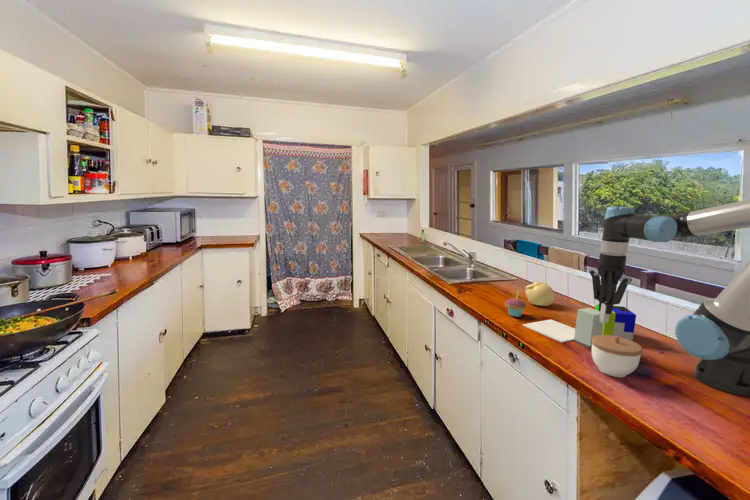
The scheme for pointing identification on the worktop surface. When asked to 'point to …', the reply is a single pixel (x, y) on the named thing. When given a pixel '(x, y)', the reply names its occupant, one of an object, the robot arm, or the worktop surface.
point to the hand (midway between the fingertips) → (603, 321)
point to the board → (553, 330)
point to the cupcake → (515, 306)
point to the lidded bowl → (615, 355)
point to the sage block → (587, 326)
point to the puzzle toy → (620, 323)
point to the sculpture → (540, 294)
